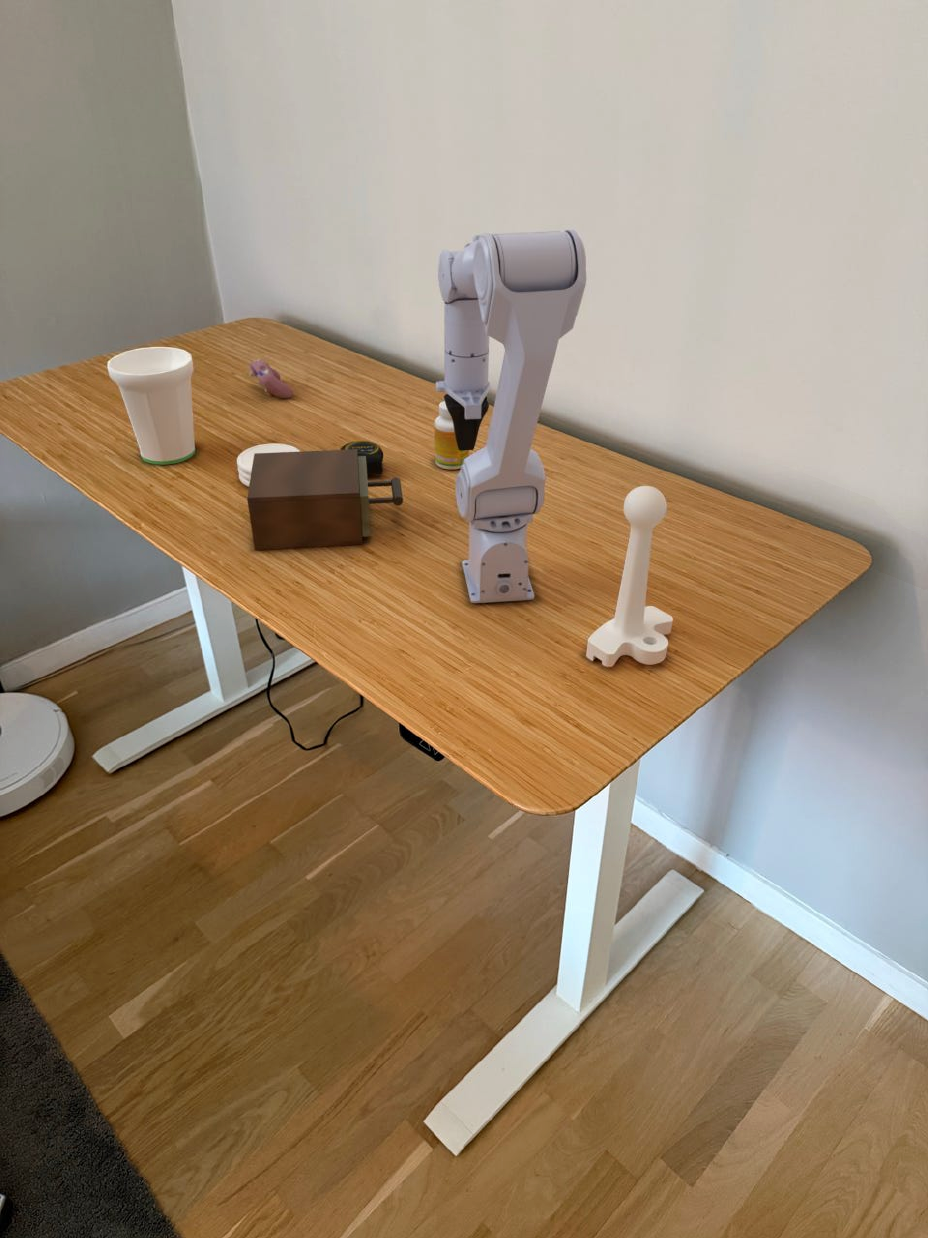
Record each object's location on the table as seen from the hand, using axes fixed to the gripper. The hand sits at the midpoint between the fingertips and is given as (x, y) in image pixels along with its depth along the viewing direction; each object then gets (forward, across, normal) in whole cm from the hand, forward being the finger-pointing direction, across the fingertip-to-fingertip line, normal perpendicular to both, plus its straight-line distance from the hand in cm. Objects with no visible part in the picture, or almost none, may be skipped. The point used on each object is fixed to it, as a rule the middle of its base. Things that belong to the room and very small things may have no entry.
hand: (465, 448), depth 122 cm
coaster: (+11, -15, -28) cm, 33 cm away
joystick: (+11, +33, +16) cm, 38 cm away
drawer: (+10, 0, -18) cm, 20 cm away
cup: (+11, -25, -45) cm, 53 cm away
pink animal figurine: (+11, -50, -30) cm, 59 cm away
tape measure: (+11, -15, -14) cm, 23 cm away
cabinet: (+10, 0, -22) cm, 24 cm away
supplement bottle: (+11, -17, 0) cm, 20 cm away
